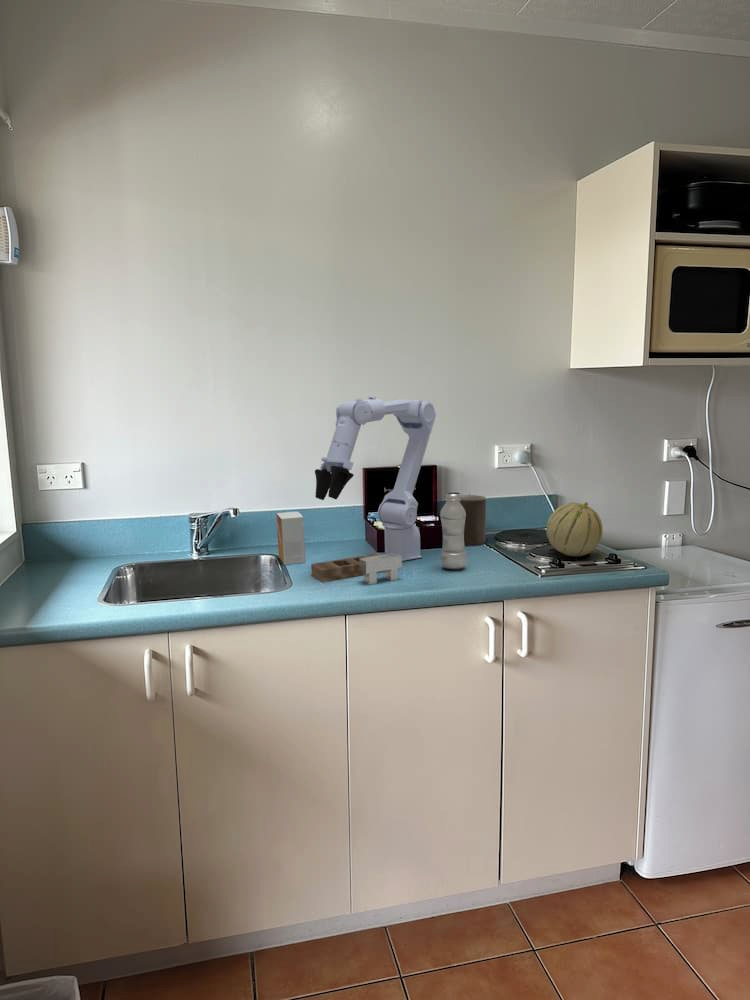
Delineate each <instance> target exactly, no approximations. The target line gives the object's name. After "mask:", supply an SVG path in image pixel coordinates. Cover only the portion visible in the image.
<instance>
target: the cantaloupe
mask: <svg viewBox="0 0 750 1000" xmlns="http://www.w3.org/2000/svg"><path fill="white" fill-rule="evenodd" d="M588 505H589V503H588V502H584V503H580V502H579V503H578V502H568V503H565V504H563V505H561V506H558V508H556V509H555V510H554V511H553V512H552V513H551V514H550V516H549V518H548V520H547V524H546V530H545V531H546V532H545V533H546V537H547V539H548V541H549V543H550V545H551V546H552V547H553V548H554V549H555V550H556V551H558V552H560V553H562V554H563V555H565V556H569V557H583V556H586V555H588V554H590V553H592V552H593V551H594V550H595V549H596V548H597V547H598V545H599V544H600V543H601V541H602V536H603V523H602V520H601V517H600V516H599V514H598V513H597V511H595V509H593V508H592V507H590V506H588Z"/></svg>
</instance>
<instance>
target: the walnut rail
mask: <svg viewBox="0 0 750 1000" xmlns="http://www.w3.org/2000/svg"><path fill="white" fill-rule="evenodd" d="M383 554H384V553H382V552H378V553H373V554H372V553H370V554H365V555H359V556H352V557H346V558H342V559H341V558H340V559H336V560H335V559H334V560H328V561H322V562H315V563H311V564H310V566H311V576H312V577H313V578H315V579H317V580H319V581H320V582H322V583H326V582H325V581H327V582H332V581H338V580H344V579H348V578H354V577H360V576H364V572H362V571H360V567H359V558H365V557H371V556H378V555H383ZM383 572H384V573H385V571H379V572H377V573H383ZM343 578H344V579H343Z"/></svg>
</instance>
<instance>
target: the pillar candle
mask: <svg viewBox="0 0 750 1000" xmlns="http://www.w3.org/2000/svg"><path fill="white" fill-rule="evenodd" d="M460 498H461V500H460V504H461V505H462V506H463V508H464V509H465V512H466V517H465V525H464V546H468V547H469V546H471V547H474V546H481V545H485V544H486V518H487V517H486V515H487V513H486V512H487V509H486V508H487V498H486V496H484V495H476V494H475V495H474V494H470V492H469V493H468V495H467V494H460Z"/></svg>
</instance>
